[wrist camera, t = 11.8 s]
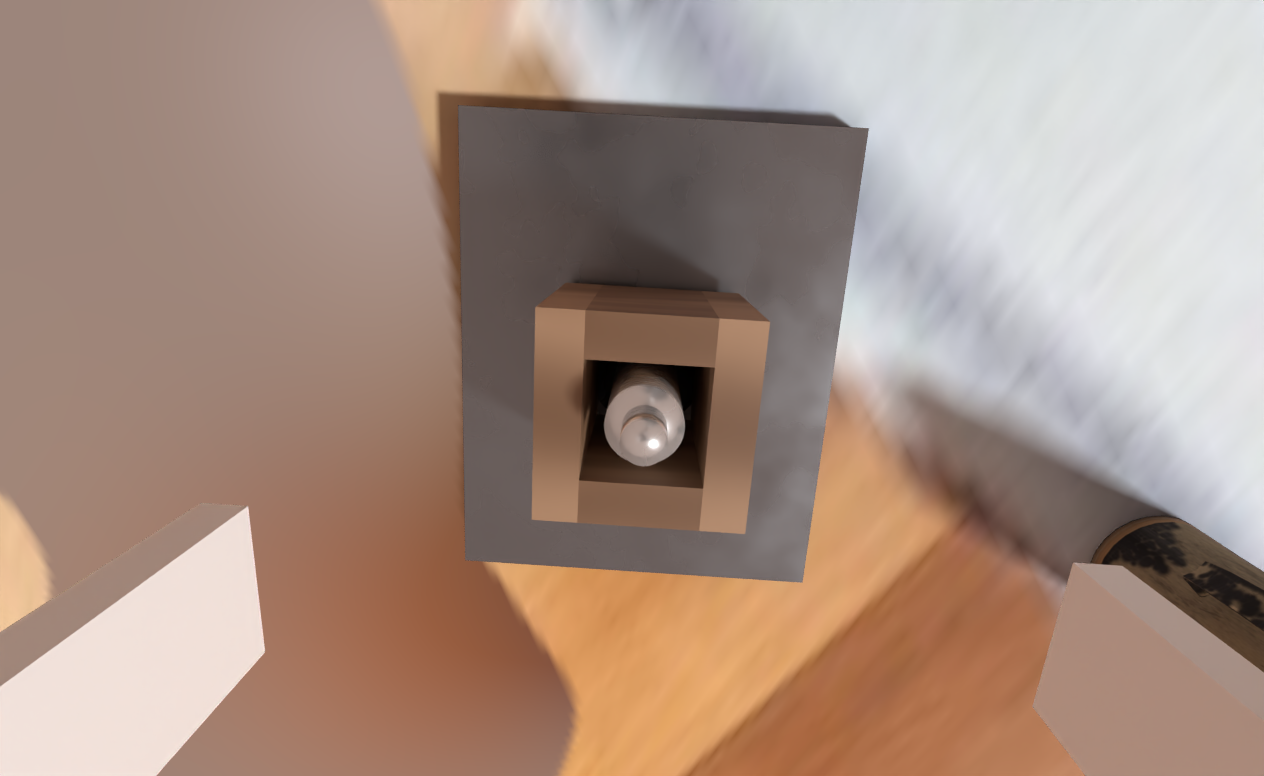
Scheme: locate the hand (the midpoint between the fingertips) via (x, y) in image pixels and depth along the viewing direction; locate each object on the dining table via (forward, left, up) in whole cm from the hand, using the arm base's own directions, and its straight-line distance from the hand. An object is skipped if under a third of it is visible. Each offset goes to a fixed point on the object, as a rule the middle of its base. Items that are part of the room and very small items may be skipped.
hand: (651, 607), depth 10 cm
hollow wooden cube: (0, 0, -17) cm, 17 cm away
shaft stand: (0, 0, -19) cm, 19 cm away
